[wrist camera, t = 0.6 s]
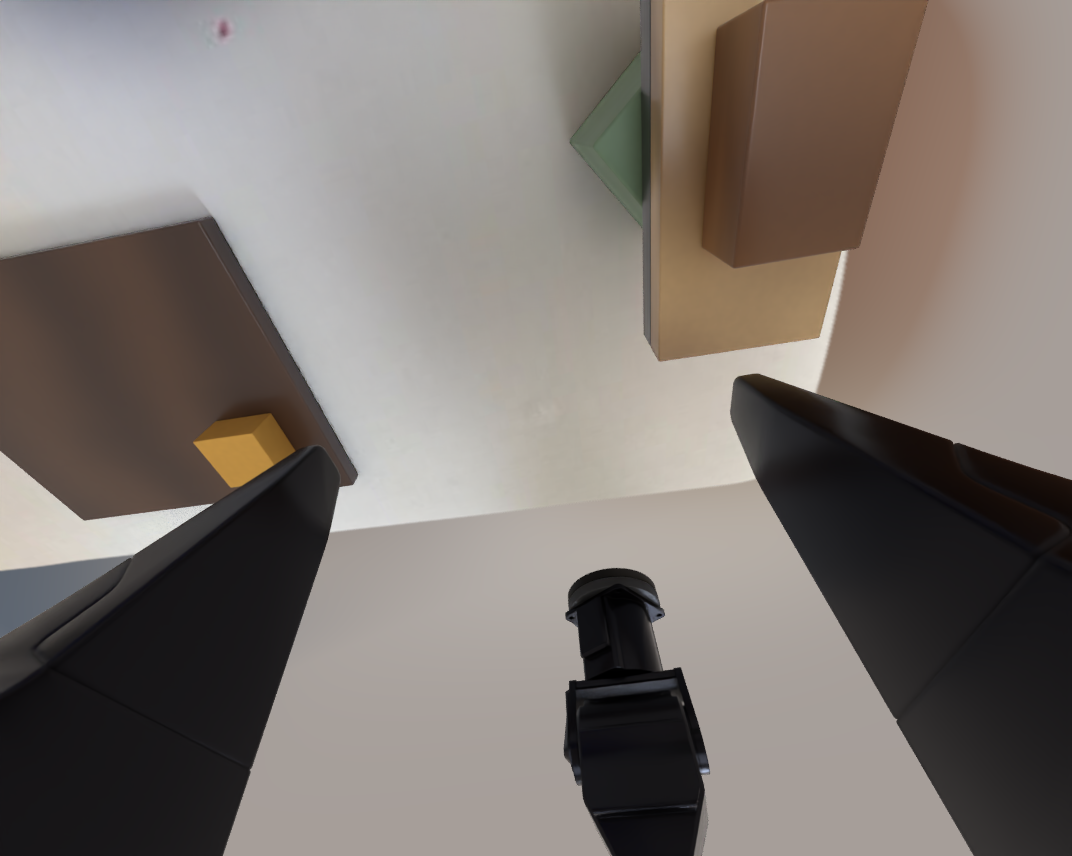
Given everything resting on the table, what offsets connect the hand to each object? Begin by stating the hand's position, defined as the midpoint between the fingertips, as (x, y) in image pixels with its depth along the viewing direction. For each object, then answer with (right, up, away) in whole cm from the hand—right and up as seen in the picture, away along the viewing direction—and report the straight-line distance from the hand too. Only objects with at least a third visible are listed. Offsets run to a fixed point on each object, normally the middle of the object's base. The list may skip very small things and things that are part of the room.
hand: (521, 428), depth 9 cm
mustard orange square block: (-16, -1, +16) cm, 23 cm away
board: (-23, +2, +15) cm, 27 cm away
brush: (+5, +7, +2) cm, 9 cm away
